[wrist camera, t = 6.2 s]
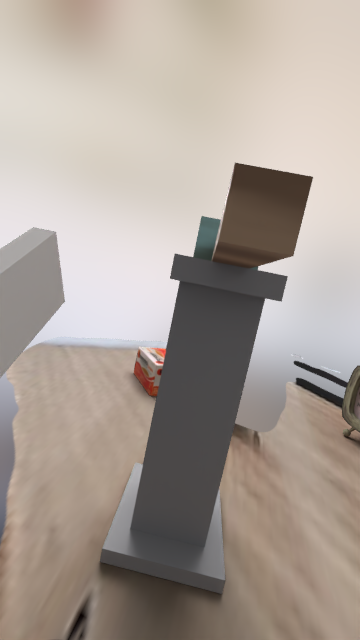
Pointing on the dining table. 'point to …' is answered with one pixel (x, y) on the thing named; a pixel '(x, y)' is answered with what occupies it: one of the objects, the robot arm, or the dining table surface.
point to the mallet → (255, 218)
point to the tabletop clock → (352, 403)
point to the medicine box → (149, 368)
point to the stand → (192, 427)
